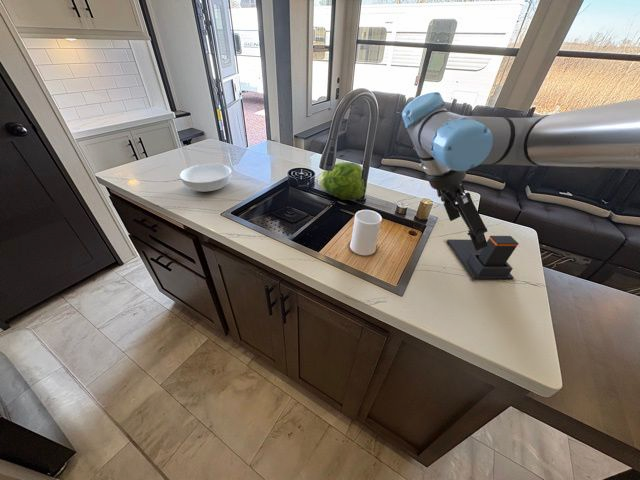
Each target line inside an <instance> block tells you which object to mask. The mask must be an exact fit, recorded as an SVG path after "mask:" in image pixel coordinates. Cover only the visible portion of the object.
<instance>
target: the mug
mask: <svg viewBox="0 0 640 480" xmlns="http://www.w3.org/2000/svg"><path fill="white" fill-rule="evenodd" d="M382 222H383V217H382V216H381V214H380V213H378V212H377V211H375V210H370V209H361V210H358V211H356V212H355V215H354V220H353V227H352V233H351V235H352V236H351V239H350V240H351V241H350V243H349V248H350V250H351V251H352V252H353V253H354V254H356V255H358V256H370V255H373V254H374V253H375V252H376V251H377V243H378V237H379V233H380V229H381V225H382Z"/></svg>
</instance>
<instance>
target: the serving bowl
mask: <svg viewBox="0 0 640 480" xmlns="http://www.w3.org/2000/svg"><path fill="white" fill-rule="evenodd" d="M232 171H233V170H232V168H231V167H230V166H229V165H226V164H222V163H216V162H214V163H213V162H212V163H201V164H196V165H192V166H189V167H187V168H185V169H183V170H182V171H181V172H180V174H179V178H180V180H181V182H182V184H183V185H185V186H186V187H187V188H188V189H190V190H193V191H196V192H212V191H213V192H214V191H218V190H220V189H223V188H224V187H226V186H227V185H228V184H229V183H230V181H231V179H232V175H233V174H232V173H233V172H232Z"/></svg>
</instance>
